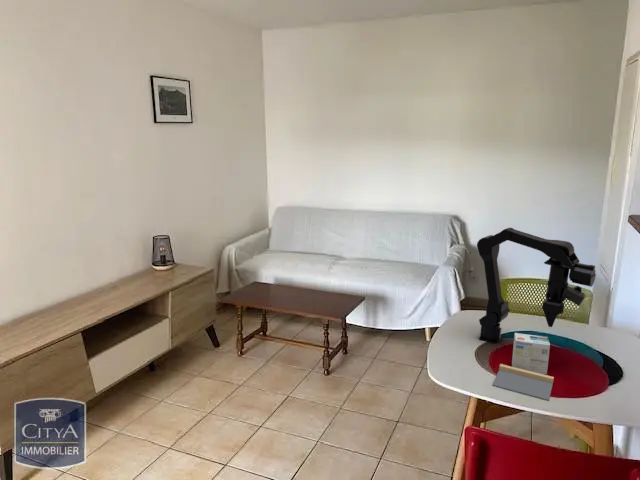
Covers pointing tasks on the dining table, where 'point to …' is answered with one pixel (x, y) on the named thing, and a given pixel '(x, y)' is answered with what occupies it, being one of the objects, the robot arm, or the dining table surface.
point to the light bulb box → (531, 353)
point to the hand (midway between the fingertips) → (551, 321)
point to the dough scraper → (524, 382)
